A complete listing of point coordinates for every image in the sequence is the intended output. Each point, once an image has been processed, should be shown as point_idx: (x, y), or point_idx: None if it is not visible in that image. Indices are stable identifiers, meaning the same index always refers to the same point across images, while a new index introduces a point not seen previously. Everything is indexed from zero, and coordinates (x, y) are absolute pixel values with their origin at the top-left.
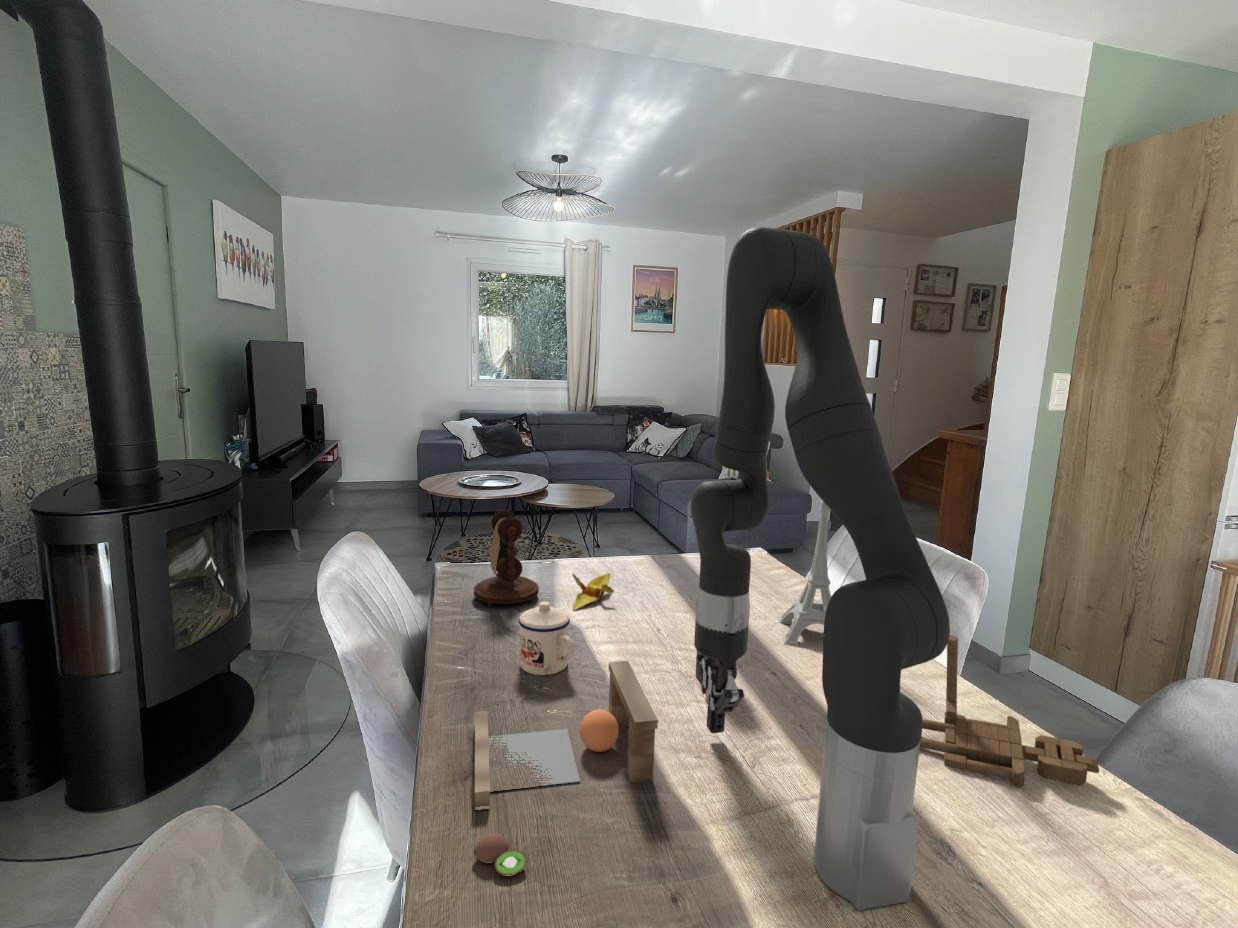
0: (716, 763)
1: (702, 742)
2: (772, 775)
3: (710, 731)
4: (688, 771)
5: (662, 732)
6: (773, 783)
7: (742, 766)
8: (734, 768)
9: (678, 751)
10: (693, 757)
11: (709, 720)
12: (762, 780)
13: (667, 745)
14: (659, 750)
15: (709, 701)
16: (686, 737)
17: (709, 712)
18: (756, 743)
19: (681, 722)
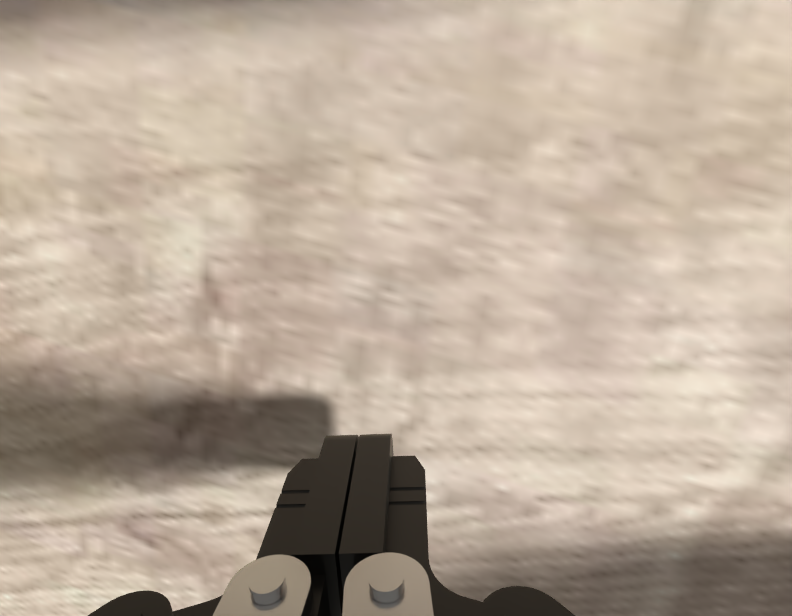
0: (150, 375)
1: (346, 360)
2: (70, 581)
3: (327, 437)
4: (68, 199)
5: (487, 135)
6: (13, 566)
7: (130, 487)
8: (112, 447)
9: (265, 191)
10: (203, 267)
11: (333, 477)
12: (29, 532)
13: (334, 133)
14: (282, 59)
15: (343, 599)
16: (407, 282)
17: (334, 519)
18: None
19: (576, 296)
